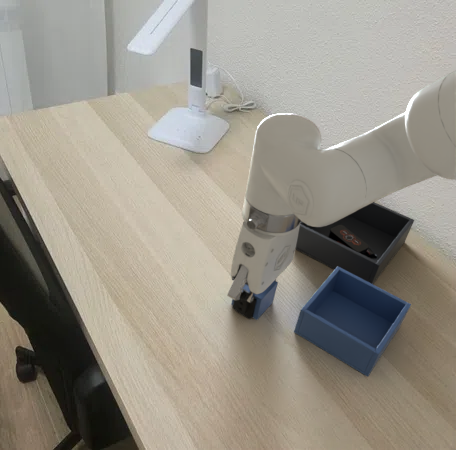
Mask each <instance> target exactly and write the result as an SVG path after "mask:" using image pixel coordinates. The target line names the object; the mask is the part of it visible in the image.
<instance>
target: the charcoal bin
mask: <svg viewBox="0 0 456 450" xmlns="http://www.w3.org/2000/svg"><path fill="white" fill-rule="evenodd" d="M414 222H415V219H413V218H411V217H409V216H408V215H404V214H402V213H400V212H398V211H395V210H393V209H391V208H389V207H386V206H384V205H382V204H379V203H377V202H376V201H375V202H373V203H371V204H369V205H367V206H365V207H363V208H361V209H359V210H357V211H356V212H354V213H352V214H350V215H348V216H346V217H344V218H342V219H340V220H338V221H336V222H334V223H332V224H330V225H327V226H323V227H312V226H309V225H307V224H305V223H304V222H302V221H301V222H300V228H299V233H298V239H297V243H296V248H295V251H298V252H300V253H302V254H304V255H306V256H308V257H309V258H312V259H313V260H316V261H317V262H319V263H321V264H323V265H325V266H326V267H328V268H330V269H332V270H333V271H334V270H335V269H336V268H337V266H338V267H340V268H342V269H344V270H346V271H348V272H350V273H352V274H354V275H356V276H358V277H360V278H362V279H363V280H365V281H367V282H369V283H371V284H373V285H375V282H376V281H377V280H378V279H379V277H380V276H381V275H382V273H383V271H384V270H385V269H386V268H387V266H388V265H389V264H390V263H391V261H392V260H393V259H394V257H395V256H396V254H397V253H398V252H399V250H400V249H401V248H402V247H403V245H404V244H405V242H406V240H407V238H408V236H409V233H410V232H411V230H412V226H413V225H414ZM338 225H343V226H344V227H346V228H347V229H348V230H350V231H351V232H352V233H353V234H355V235H356V236H357V237H359V238H360V239H361V240H362V241H364V242H365V243H366V244H367V245H368V246H369V247H368V248H369V249H371V250H372V252H373V253H374V254H376V255H377V258H376V259H373V258H372V259H371V258H369V257H367V256H365V255H363V254H360V253H358V252H356V251H354V250H352V249H350V248H348V247H346V246H344V245H342V244H340V243H338V242H336V241H334V240H332V239H330V238H328V236H329V233H330V230H331V228H333V227H336V226H338Z"/></svg>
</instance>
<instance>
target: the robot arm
mask: <svg viewBox="0 0 456 450" xmlns="http://www.w3.org/2000/svg"><path fill="white" fill-rule="evenodd" d="M321 145H322V133H321V129H320V128H319V127H318V125H317V124H316V123H315V122H314V121H312V120H311V119H310V118H307V117H305V116H303V115H301V114H296V113H291V112H289V113H287V112H279V113H274V114H271V115H269V116H267V117H265V118H264V119H262V120H261V121H260V123H259V124H258V126H257V127H256V130H255V135H254V140H253V146H252V153H251V158H250V165H249V170H248V175H247V181H246V188H245V193H244V199H243V204H242V205H243V206H242V210H241V217H242V220H243V222H242V224H241V228H240V231H239V234H238V238H237V240H236V244H235V247H234V253H233V257H232V261H231V268H230V278H231V280H232V284H231V286H230V288H229V290H228V292H227V297H229V298H230V299H231V300H232V299H234V303H233V305H232V309H233V310H234V311H235V312H236V313H238V314H239V315H242V316H243V317H245V318H247V319H248V320H251V319H253V314H254V309H255V305H256V301H257V299H255V295H256V294H260V293H262V292H264V291H265V290H266V289H267V288H268V287H269V286H270V285H271V284H272V283H273V282H274V281H277V279H278V278H279V277H280V276H281V274H282V273H283V272H284V271H285V270H286V269H287V268H288V267H289V266H290V264H291V263H292V261H293V259H294V256H295V252H296V249H295V248H296V243H297V239H298V233H299V228H300V222H301V221H302V222H304V223H305V224H307V225H309V226H312V227H323V226H327V225H330V224H332V223H334V222H336V221H338V220H340V219H342V218H344V217H346V216H348V215H350V214H352V213H354V212H356V211H357V210H359V209H361V208H363V207H365V206H367V205H369V204H371V203H373V202H375V203H376V202H377V201H380V200H382V199H383V198H386V197H388V196H389V195H392V194H394V193H397V192H398V191H401V190H403V189H406V188H408V187H411V186H413V185H416V184H419V183H421V182H423V181H426V180H429V179H431V178H435V177H437V176H438V177H441V178H443V179H446V180H452V181H453V180H455V181H456V70H454V71H452V72H450V73H448V74H446V75H445V76H443V77H441V78H439V79H437V80H435V81H434V82H432V83H430V84H427V85H426V86H425V87H423V88H421V89H420V90H418V91H417V92H416V93H415V94H414V95H413V96H412V97H411V99H410V100H409V102H408V105H407V107H406V111H405V112H403V113H401V114H399V115H397V116H395V117H394V118H392V119H390V120H388V121H386V122H384V123H382V124H381V125H378V126H376V127H374V128H372V129H371V130H369V131H366V132H364V133H361V134H360V135H358V136H355V137H353V138H350V139H347V140H345V141H343V142H339V143H338V144H336V145H335V144H334V145H333V146H331V147H328V148H326V149H325V148H324V149H321ZM245 284H246V285H247V286H249V289H250V292H248V291H246V290H245V289H243V287H244V285H245Z"/></svg>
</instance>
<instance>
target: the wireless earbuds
mask: <svg viewBox="0 0 456 450" xmlns="http://www.w3.org/2000/svg"><path fill="white" fill-rule="evenodd" d="M328 238H330V239H332V240H334V241H336V242H338V243H340V244H342V245H344V246H346V247H348V248H350V249H352V250H354V251H356V252H358V253H360V254H363V255H365V256H367V257H369V258H371V259H372V258H373V259H376V258H377V255H376V254H374V253H373V252H372V250H371V249H369V248H368V247H369V246H368V245H367V244H366V243H365V242H364V241H362V240H361V239H360V238H359V237H357V236H356V235H355V234H353V233H352V232H351V231H350V230H348V229H347V228H346V227H344V226H343V225H338V226H336V227H333V228H331V230H330V233H329V236H328Z"/></svg>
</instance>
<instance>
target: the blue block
mask: <svg viewBox="0 0 456 450" xmlns="http://www.w3.org/2000/svg"><path fill="white" fill-rule="evenodd" d="M278 284H279V282H278V281H277V280H276V281H274V282H273V283H272V284H271V285H270V286H269V287H268V288H267V289H266V290H265V291H264V292H262V293H260V294H256V295H255V299H257V301H256V305H255V309H254V314H253V317H252V319H254V320H256V321H257V320H259V318H261V316H262V315H263V314H264V313H265V312H266V311H267V310H268V308H270V306H271V305H272V304H273V303H274V300H275V295H276V291H277V288H278ZM243 289H245V290H246V291H248V292H250V289H249V286H247V285H246V284H245V285H244V287H243ZM233 303H234V299H232V298H231V305H232V306H233Z"/></svg>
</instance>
